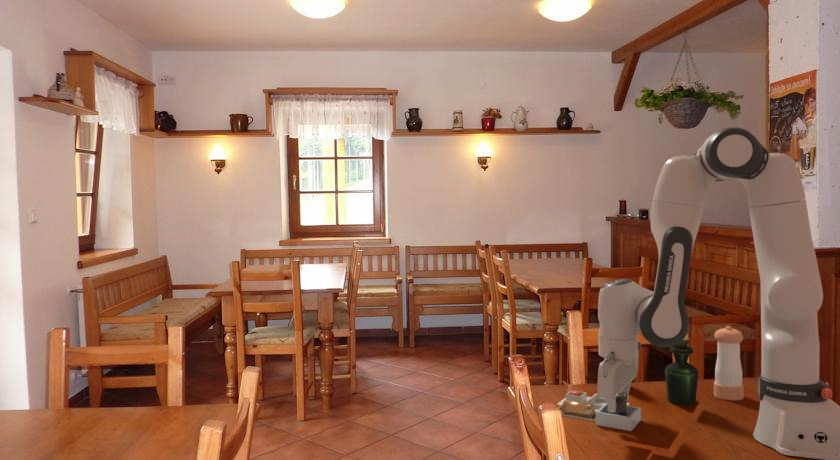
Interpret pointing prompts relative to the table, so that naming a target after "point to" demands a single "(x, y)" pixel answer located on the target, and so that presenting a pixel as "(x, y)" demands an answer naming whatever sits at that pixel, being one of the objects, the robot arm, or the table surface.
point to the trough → (578, 416)
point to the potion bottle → (681, 376)
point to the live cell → (578, 409)
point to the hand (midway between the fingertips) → (618, 405)
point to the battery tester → (586, 399)
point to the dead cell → (621, 405)
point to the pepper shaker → (728, 365)
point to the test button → (576, 393)
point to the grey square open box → (618, 418)
